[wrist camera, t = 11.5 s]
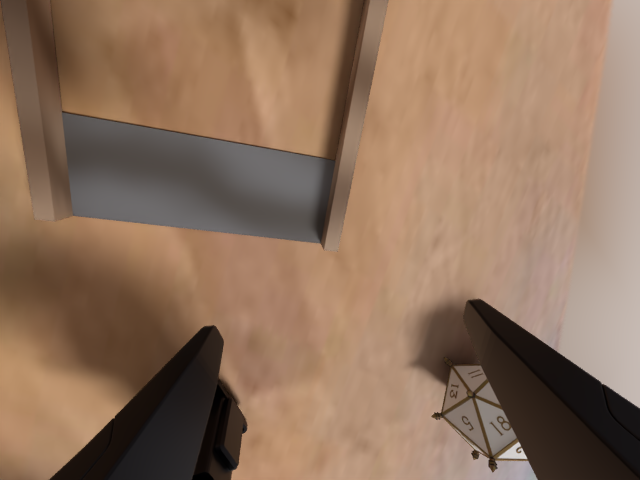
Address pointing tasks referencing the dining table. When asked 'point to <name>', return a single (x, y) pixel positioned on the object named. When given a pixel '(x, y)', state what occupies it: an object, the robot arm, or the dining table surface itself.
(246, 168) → the channel
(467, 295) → the dining table surface
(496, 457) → the game die
